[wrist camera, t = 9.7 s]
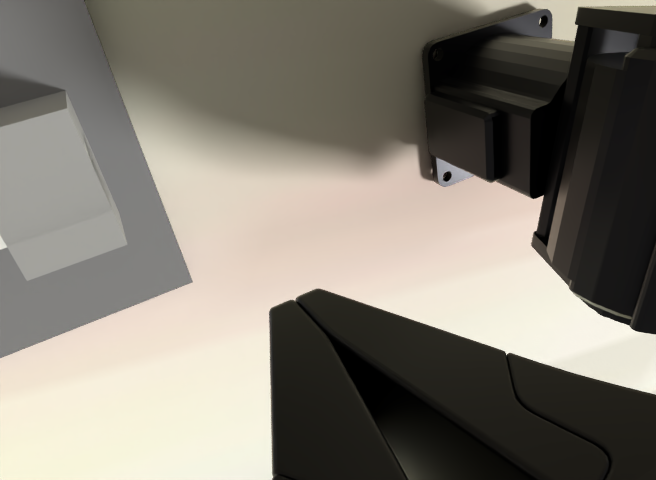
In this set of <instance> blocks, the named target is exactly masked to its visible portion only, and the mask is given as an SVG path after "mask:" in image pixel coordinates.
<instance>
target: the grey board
mask: <svg viewBox="0 0 656 480" xmlns="http://www.w3.org/2000/svg"><path fill="white" fill-rule="evenodd" d="M192 282H193V281H192V279H191V276H190V274H189V271H188V268H187V266H186V263H185V261H184V258H183V255H182V253H181V250H180V248H179V245H178V243H177V240H176V237H175V235H174V232H173V230H172V227H171V224H170V222H169V219H168V217H167V214H166V211H165V209H164V206H163V204H162V201H161V198H160V196H159V193H158V191H157V188H156V186H155V183H154V180H153V178H152V175H151V173H150V170H149V167H148V165H147V162H146V160H145V157H144V154H143V152H142V149H141V147H140V144H139V141H138V139H137V136H136V134H135V131H134V128H133V126H132V123H131V121H130V118H129V116H128V113H127V110H126V108H125V105H124V103H123V100H122V97H121V95H120V92H119V90H118V87H117V84H116V82H115V79H114V77H113V74H112V71H111V69H110V66H109V64H108V61H107V59H106V56H105V53H104V51H103V48H102V46H101V43H100V40H99V38H98V35H97V33H96V30H95V27H94V25H93V22H92V20H91V17H90V14H89V12H88V9H87V7H86V4H85V2H84V0H0V358H2V357H4V356H7V355H10V354H12V353H15V352H17V351H20V350H22V349H25V348H27V347H30V346H32V345H35V344H37V343H40V342H42V341H45V340H47V339H50V338H53V337H55V336H58V335H60V334H63V333H65V332H68V331H70V330H73V329H75V328H78V327H80V326H83V325H85V324H88V323H90V322H93V321H96V320H98V319H101V318H103V317H106V316H108V315H111V314H113V313H116V312H118V311H121V310H123V309H126V308H128V307H131V306H134V305H136V304H139V303H141V302H144V301H146V300H149V299H151V298H154V297H156V296H159V295H161V294H164V293H166V292H169V291H171V290H174V289H177V288H179V287H182V286H184V285H187V284H189V283H192Z"/></svg>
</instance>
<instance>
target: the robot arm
mask: <svg viewBox="0 0 656 480" xmlns="http://www.w3.org/2000/svg"><path fill="white" fill-rule="evenodd" d="M540 18H541V23H540V25H539V20H540ZM575 24H576V25H578V28H577V33H576V38H575V42H574V41H566V40H558V39H552V14H551V12H550V11H549V10H548V9H535V10H532V11H528V12H525V13H522V14H519V15H515V16H512V17H509V18H506V19H502V20H499V21H496V22H492V23H489V24H486V25H483V26H479V27H476V28H473V29H469V30H466V31H463V32H460V33H456V34H453V35H450V36H446V37H443V38H440V39H437V40H433V41H431V42H429V43H427V45H426V46H425V47H424V50H423V54H422V59H423V70H424V81H425V92H426V98H425V101H424V103H425V113H426V124H427V135H428V146H429V153H430V154H431V159H432V170H433V178H434V181H435V182H436V183H437V184H439V185H441V186H443V187H446V186H450V185H452V184H455V183H457V182H460V181H462V180H465V179H467V178H470V177H472V176H477V177H479V178H481V179H483V180H485V181H487V182H489V183H492V182H495V181H496V182H498V183H500V184H502V185H504V186H506V187H509V188H511V189H513V190H515V191H517V192H519V193H521V194H524V195H526V196H528V197H530V198H532V199H535V198H538V197H540V196H543V195H544V197H543V202H542V207H541V212H540V217H539V222H538V227H537V231H535V232H534V233H533V238H532V243H531V245H532V247H533V248H534V249H535V250H536V251H537V252H538V253H539V254H540V256H541V257H542V258H543V259H544V260H545V261H546V262H547V263H548V264H549V265H550V266H551V267H552V269H553V270H554V271H555V272H556V273H557V274H558V275H559V276H560V277H561V278H562V279H563V280H564V281H565V283H566V284H567V285H568V286H569V289H570V290H571V291H572V292H573V293H574V294H575V295H576V296H577V297H579V298H580V299H581V300H582V301H583V302H584V303H586V304H587V305H588V306H589V307H590V308H592V309H594V310H595V311H596V312H597V313H598V314H600V315H602V316H604V317H608V318H610V319H613V320H615V321H618V322H621V323H624V324H627V325H630V327H631V328H632V329H633V330H635V331H638V332H643V333H650V334H656V6H605V7H578V11H577V16H576V21H575ZM436 49H437V51H438V54H437V57H436V58H435V59H433V52H434V51H435V50H436ZM445 172H447V174H446V176H445V178H443V175H444V173H445ZM269 323H270V376H271V429H272V475H273V478H272V480H656V395H655V394H651V393H647V392H643V391H639V390H635V389H631V388H626V387H622V386H619V385H615V384H611V383H607V382H604V381H600V380H596V379H593V378H589V377H585V376H581V375H578V374H574V373H571V372H568V371H564V370H561V369H558V368H555V367H552V366H548V365H545V364H542V363H539V362H536V361H533V360H530V359H527V358H524V357H521V356H518V355H515V354H512V353H508V354H507V356H506V353H505V352H504V351H503V350H500V349H497V348H494V347H491V346H488V345H485V344H482V343H479V342H476V341H473V340H470V339H467V338H464V337H461V336H458V335H455V334H452V333H449V332H446V331H444V330H441V329H438V328H435V327H432V326H429V325H426V324H423V323H420V322H417V321H414V320H411V319H408V318H405V317H402V316H399V315H396V314H393V313H390V312H387V311H384V310H382V309H379V308H376V307H373V306H370V305H367V304H364V303H361V302H358V301H355V300H352V299H349V298H346V297H343V296H340V295H337V294H334V293H331V292H328V291H325V290H323V289H314V290H312V291H310V292H307V293H305V294H303V295H300V296H298V297H297V298H296V300H295V301H294V300H289V301H286V302H284V303H282V304H279V305H277V306H275V307H273V308H271V309H270V312H269Z"/></svg>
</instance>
